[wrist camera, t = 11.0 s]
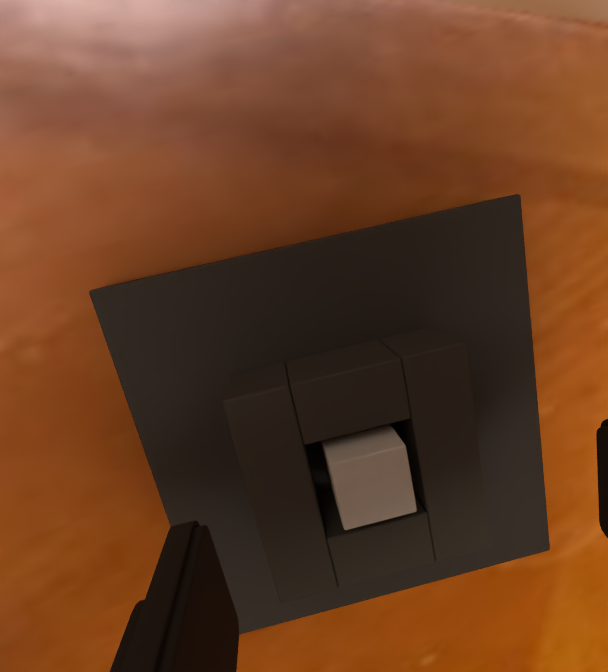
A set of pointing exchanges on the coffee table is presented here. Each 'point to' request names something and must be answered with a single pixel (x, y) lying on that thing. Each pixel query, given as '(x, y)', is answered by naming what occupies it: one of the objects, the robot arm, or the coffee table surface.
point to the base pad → (320, 336)
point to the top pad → (349, 417)
